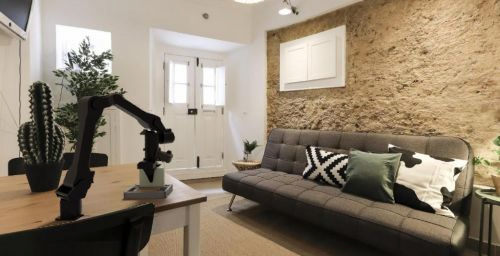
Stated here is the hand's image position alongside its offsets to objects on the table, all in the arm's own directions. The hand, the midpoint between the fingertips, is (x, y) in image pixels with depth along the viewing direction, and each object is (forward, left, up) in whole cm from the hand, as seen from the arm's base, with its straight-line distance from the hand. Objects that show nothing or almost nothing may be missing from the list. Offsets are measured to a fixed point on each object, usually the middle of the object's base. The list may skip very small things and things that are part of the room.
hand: (152, 182), depth 112 cm
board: (0, 0, -4) cm, 4 cm away
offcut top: (-5, 0, -3) cm, 6 cm away
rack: (-3, 0, -5) cm, 6 cm away
